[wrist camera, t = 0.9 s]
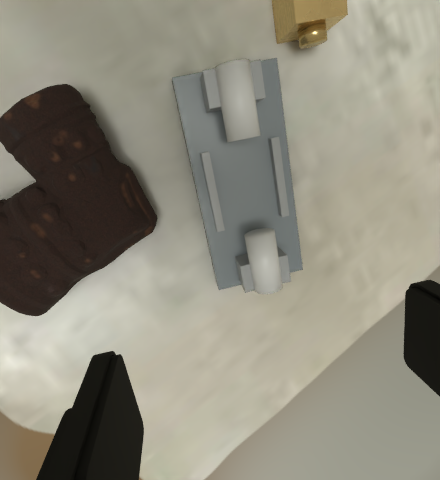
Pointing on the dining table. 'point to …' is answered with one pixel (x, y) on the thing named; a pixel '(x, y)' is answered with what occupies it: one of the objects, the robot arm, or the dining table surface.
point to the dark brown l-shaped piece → (63, 201)
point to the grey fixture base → (242, 172)
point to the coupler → (306, 20)
